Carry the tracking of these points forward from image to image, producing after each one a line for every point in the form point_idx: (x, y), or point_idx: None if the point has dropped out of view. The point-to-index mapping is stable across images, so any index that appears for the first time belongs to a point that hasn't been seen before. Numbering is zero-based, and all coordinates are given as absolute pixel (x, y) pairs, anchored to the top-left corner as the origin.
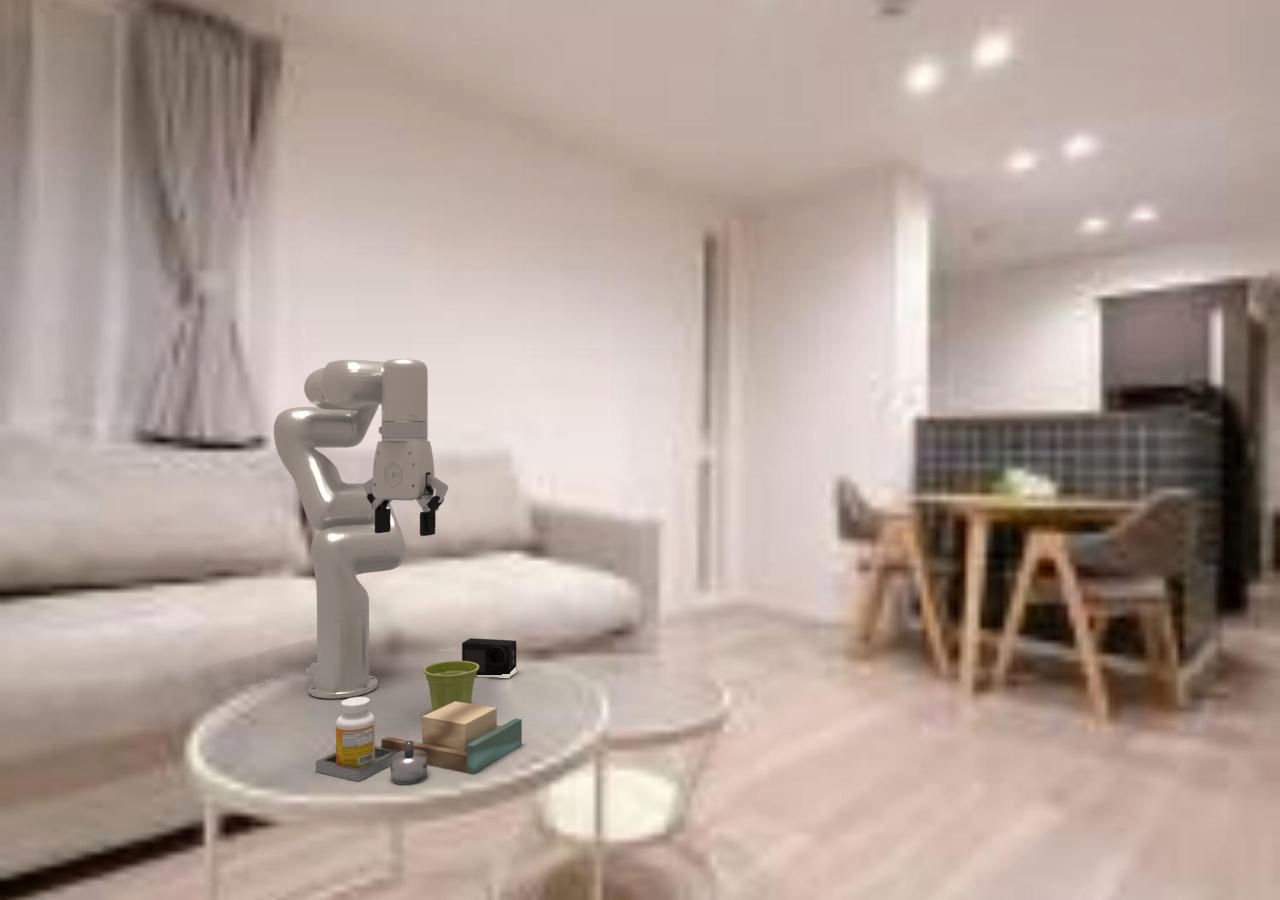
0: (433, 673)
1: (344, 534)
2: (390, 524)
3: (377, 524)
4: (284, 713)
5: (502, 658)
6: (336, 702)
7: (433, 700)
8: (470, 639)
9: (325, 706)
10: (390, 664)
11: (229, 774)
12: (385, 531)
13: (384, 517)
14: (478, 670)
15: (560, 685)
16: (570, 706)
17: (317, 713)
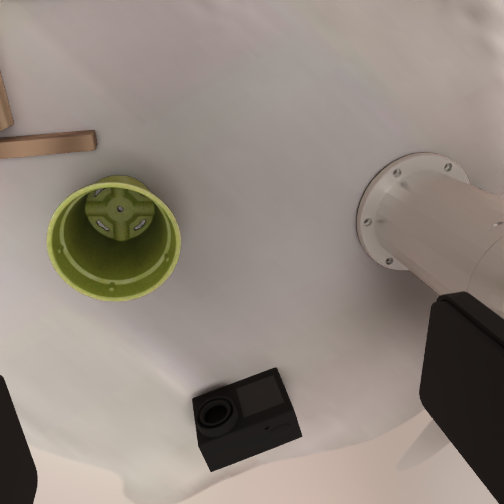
0: (171, 233)
1: None
2: (447, 435)
3: (484, 331)
4: (418, 60)
5: (200, 417)
6: (374, 156)
7: (127, 181)
8: (295, 431)
9: (376, 129)
10: None
11: None
12: (424, 359)
13: (499, 431)
14: (248, 386)
15: (85, 423)
16: None
17: (362, 93)
